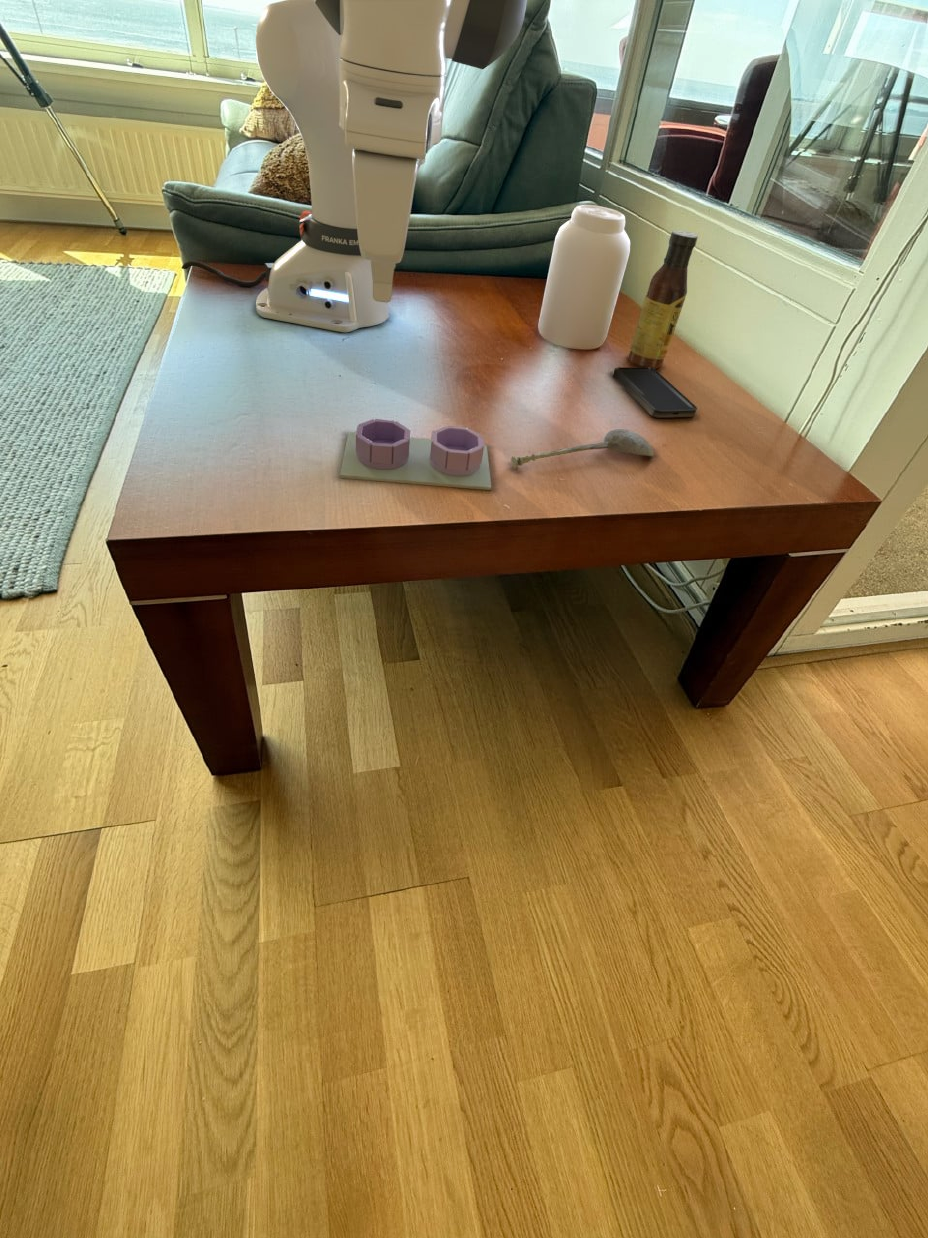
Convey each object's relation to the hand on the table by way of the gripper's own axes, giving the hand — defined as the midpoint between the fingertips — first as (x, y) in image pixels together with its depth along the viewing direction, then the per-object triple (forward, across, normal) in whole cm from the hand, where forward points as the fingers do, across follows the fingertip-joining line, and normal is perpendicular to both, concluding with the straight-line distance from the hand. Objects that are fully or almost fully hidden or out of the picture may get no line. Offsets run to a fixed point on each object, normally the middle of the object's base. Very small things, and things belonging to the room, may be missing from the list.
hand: (385, 282), depth 64 cm
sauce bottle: (+20, -39, +44) cm, 62 cm away
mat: (+20, 0, +5) cm, 21 cm away
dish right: (+20, 0, +10) cm, 22 cm away
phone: (+20, -26, +42) cm, 53 cm away
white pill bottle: (+21, -47, +32) cm, 60 cm away
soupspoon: (+20, -4, +27) cm, 34 cm away
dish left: (+20, 0, 0) cm, 20 cm away
